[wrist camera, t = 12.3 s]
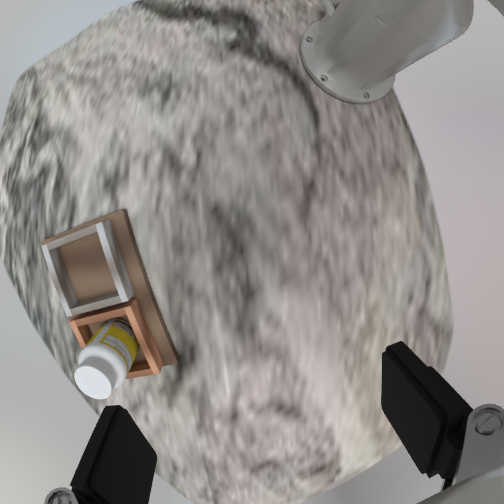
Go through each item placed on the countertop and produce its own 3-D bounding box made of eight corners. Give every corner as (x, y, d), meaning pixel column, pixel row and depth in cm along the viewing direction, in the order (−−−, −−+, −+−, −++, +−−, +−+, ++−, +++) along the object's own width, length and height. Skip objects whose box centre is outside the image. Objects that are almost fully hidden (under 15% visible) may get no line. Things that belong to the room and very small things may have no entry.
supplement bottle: (106, 356, 32) (78, 402, 23) (95, 317, 31) (59, 357, 22) (145, 356, 33) (125, 406, 23) (136, 316, 32) (108, 359, 22)
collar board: (46, 240, 30) (30, 245, 26) (125, 209, 31) (114, 210, 27) (100, 372, 34) (91, 387, 30) (179, 358, 34) (175, 374, 31)
